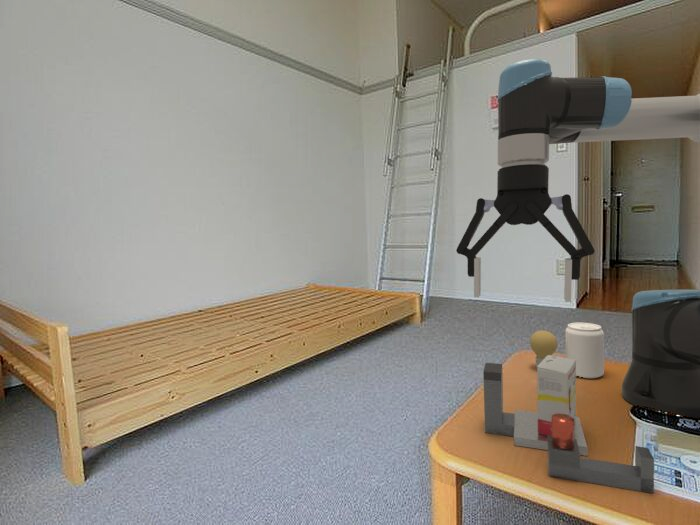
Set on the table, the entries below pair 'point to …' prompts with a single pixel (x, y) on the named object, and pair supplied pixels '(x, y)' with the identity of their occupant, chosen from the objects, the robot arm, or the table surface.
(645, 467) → the rail
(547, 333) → the light bulb
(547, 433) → the ink box
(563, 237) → the robot arm
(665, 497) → the table surface
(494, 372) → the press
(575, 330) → the beverage can
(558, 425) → the red cylinder
